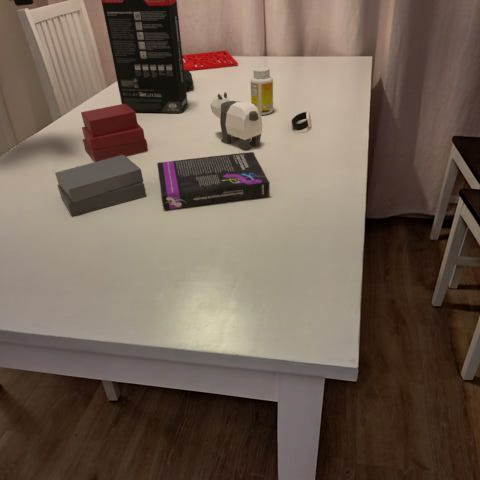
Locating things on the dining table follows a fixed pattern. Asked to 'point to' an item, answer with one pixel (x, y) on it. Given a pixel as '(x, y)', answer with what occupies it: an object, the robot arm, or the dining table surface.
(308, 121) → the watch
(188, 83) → the carrying case
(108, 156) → the burgundy book pile
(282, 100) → the dining table surface
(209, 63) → the maze puzzle
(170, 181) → the box
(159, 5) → the graphics card box
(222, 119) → the giant panda
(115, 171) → the grey book pile
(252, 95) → the supplement bottle
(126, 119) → the dark red rectangular block
